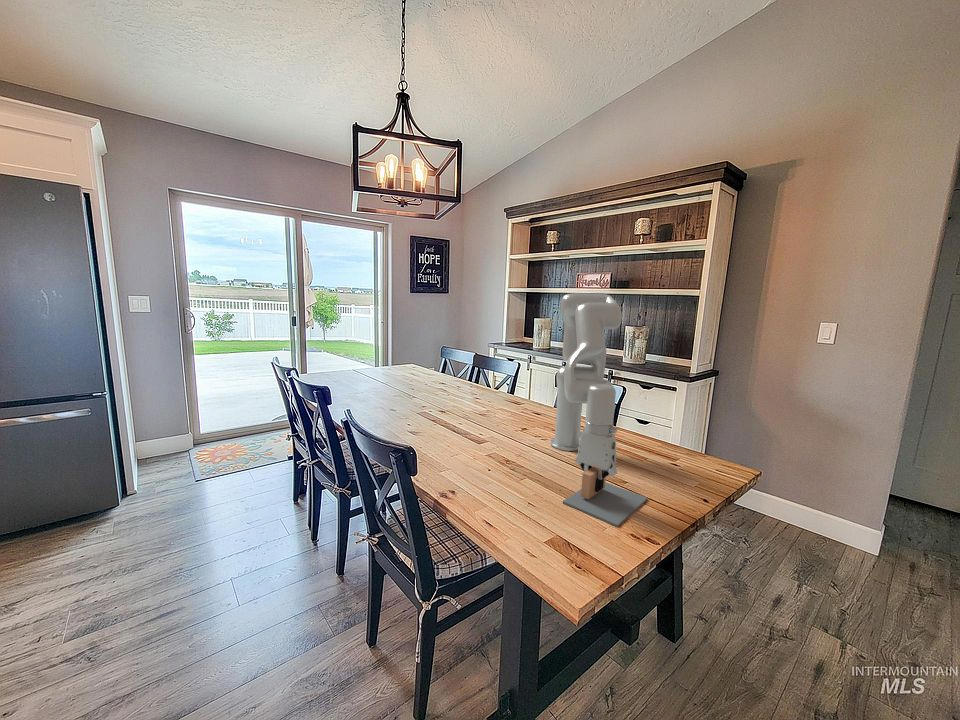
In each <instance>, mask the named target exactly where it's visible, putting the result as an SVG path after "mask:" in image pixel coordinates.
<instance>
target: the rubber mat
mask: <svg viewBox="0 0 960 720" xmlns="http://www.w3.org/2000/svg"><path fill="white" fill-rule="evenodd" d="M647 501H648V497H647V496H644V495H642V494H639V493H636V492H633V491H630V490H627V489H624V488H622V487H620V486H617V485H614V484H612V483H608V482H607V481H606V482H605V488H604V489H602V490H601V491H600V492H598V493H597V494H595V495H594V496H593V497H591V498H590V499H586V498H584V497H582V496H581V489H579V490H577V491H576V492H575V493H573V494H571V495H569V496H568V497H567V498H565V499H564V500H562V504H564V505H566V506H569V507H571V508H573V509H575V510H577V511H579V512H582V513H584V514H587V515H588V516H591V517H594V518H596V519H598V520H600V521H603V522H605V523H607V524H609V525H612V526H614V527H617V528H618V527H619V526H621V524H622V523H623V522H625V521H626V520H627V519H628V518H629V517H631V516H632V515H633V514H634V512H636V511H637V510H638V509H639V508H640V507H641V506H643V504H645V502H647Z"/></svg>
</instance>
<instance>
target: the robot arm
mask: <svg viewBox="0 0 960 720" xmlns="http://www.w3.org/2000/svg"><path fill="white" fill-rule="evenodd" d="M560 314H561V317H562V320H563V325H564V326H563V327H564V328H563V339H562V341H563V342H562V359H563V361H564V362H566V364H565V365H564V366H561V367H559V368H558V370H557V372H556V388H557V389H556V390H557V391H556V392H557V399H556V410H555V411H556V415H555V426H554V428H555V429H554V430H555V431H554V437H553V438H551V439H550V445H551V447H553V448H555V449H557V450H561V451H564V452H565V451H567V452H574V451H575V452H576V451H577V456H576V458H575V459H574V461H575V463H577V464H578V465H579V466H580V468H581V469H582V471H583V473H584V472H585V471H587V470H589V469H590V468H592V467H595V468H598V478H597V479H596V484H595V492H598V491H600V490H601V489H603V484H604V478H605V477H606V478H607V477H608V476H609V477H610V476H615V475H617V474H618V470H617V468H616V465H617V439H616V434H617V432H618V428H616V427H614V425H615V424H614V416H615V406H616V405H615V404H616V397H617V396H616V394H617V392H616V388H615V387H614V386H613V385H612V382H611V381H610V380H607V379H604V378H605V371H606V370H605V369H606V363H607V362H606V361H607V360H606V359H607V347H606V342H605V332H604V330H616V329H618V328H620V326H621V323H622V319H623V315H622V310H621V307H620V305H619V304H618V302H617V301H616V300H615V299H614V298H613V297H612V296H611V295H609V294H605V293H604V294H603V293H581V292H578V293H577V292H576V293H575V292H574V293H573V292H572V293H567V294H565V295H562V298H561V300H560ZM577 364H581V365H591V366H580V365H577ZM583 404H586V410H585V420H584V421H585V423H584V429H582V431H581V425H582V413H583V412H582V410H583Z"/></svg>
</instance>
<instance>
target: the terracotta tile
mask: <svg viewBox="0 0 960 720" xmlns="http://www.w3.org/2000/svg"><path fill="white" fill-rule="evenodd" d="M597 478H598V468H595V467H592V468H590V469H589V470H587V471H585V472H584V471H583V472H582V477H581V489H580V490H581V496H582V497H584V498H586V499H590V498H591V497H593V496H594V495H595V494H597V493H598V492H600V491H601V490H602V489H601V490H600V491H598V492H595V484H596V479H597ZM606 479H607V476H606V477H605V478H604V484H603V489H604V488H605V482H606V483H607V481H606Z"/></svg>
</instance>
